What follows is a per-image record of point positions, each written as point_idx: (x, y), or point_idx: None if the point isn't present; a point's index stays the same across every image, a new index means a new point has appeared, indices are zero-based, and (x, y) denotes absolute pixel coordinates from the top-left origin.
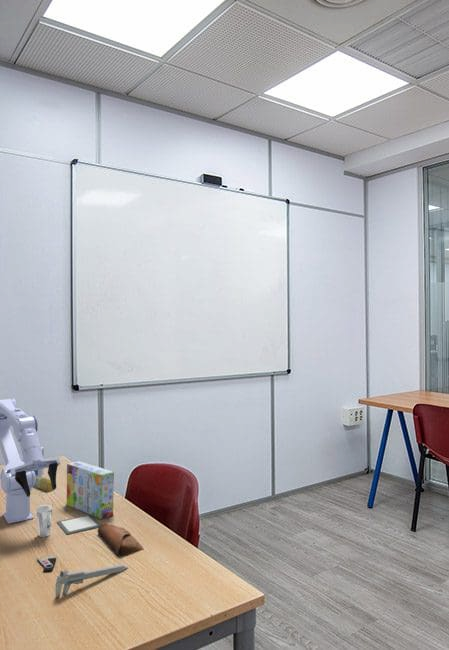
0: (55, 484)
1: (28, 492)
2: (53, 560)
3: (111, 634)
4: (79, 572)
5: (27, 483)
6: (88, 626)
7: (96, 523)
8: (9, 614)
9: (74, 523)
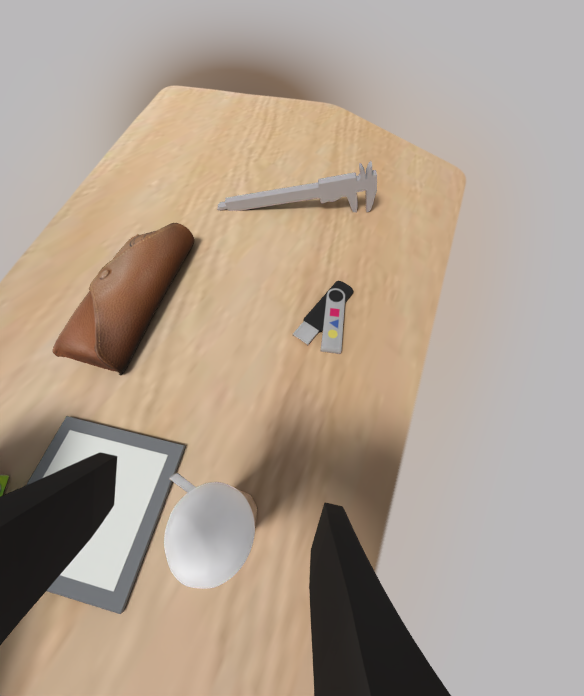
0: (85, 460)
1: (343, 513)
2: (314, 311)
3: (347, 123)
4: (329, 178)
5: (353, 597)
6: (362, 144)
7: (57, 446)
8: (451, 218)
9: None
